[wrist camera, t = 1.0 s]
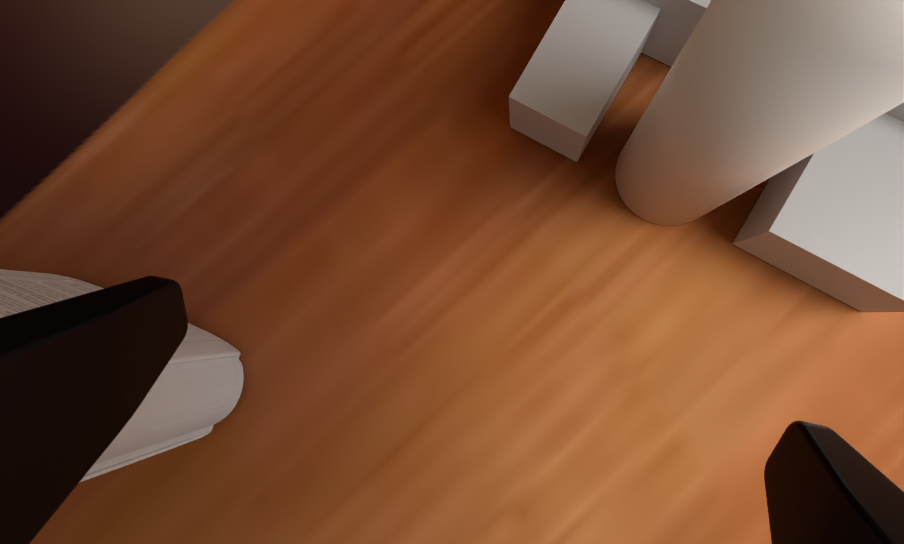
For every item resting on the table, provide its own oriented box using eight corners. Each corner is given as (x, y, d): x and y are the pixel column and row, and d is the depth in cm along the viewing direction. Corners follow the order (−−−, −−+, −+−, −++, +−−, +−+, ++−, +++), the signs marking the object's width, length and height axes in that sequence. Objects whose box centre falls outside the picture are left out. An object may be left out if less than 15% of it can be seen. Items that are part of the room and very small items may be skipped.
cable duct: (1236, 289, 18) (1439, 280, 14) (1140, 458, 18) (1316, 498, 14) (592, -13, 22) (608, -87, 18) (510, 127, 21) (508, 84, 17)
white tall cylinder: (744, 153, 20) (1286, -246, 6) (690, 244, 20) (1106, 65, 6) (647, 105, 21) (927, -363, 7) (595, 194, 21) (761, -81, 6)
